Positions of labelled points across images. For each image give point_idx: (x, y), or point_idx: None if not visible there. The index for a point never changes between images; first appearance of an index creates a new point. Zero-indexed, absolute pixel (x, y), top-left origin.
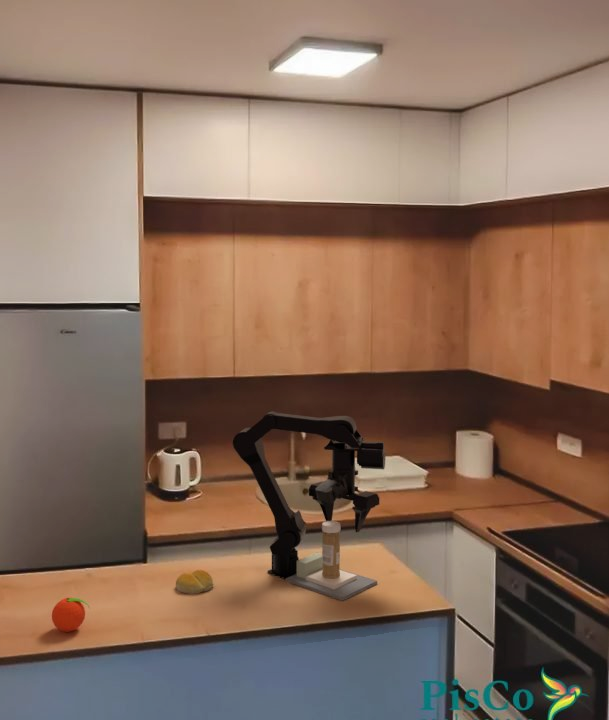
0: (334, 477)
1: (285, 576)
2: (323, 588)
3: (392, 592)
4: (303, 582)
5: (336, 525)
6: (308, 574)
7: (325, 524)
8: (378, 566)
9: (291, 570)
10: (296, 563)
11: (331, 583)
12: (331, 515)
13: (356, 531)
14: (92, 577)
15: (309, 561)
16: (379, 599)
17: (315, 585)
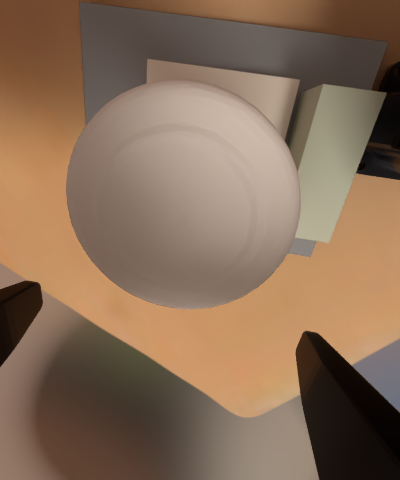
0: None
1: (398, 77)
2: (190, 42)
3: (25, 185)
4: (293, 49)
5: (73, 179)
6: (300, 111)
7: (216, 120)
8: (166, 321)
9: (387, 94)
10: (384, 126)
11: (168, 72)
12: (312, 424)
13: (25, 282)
14: None
15: (316, 123)
16: (12, 110)
17: (233, 50)
